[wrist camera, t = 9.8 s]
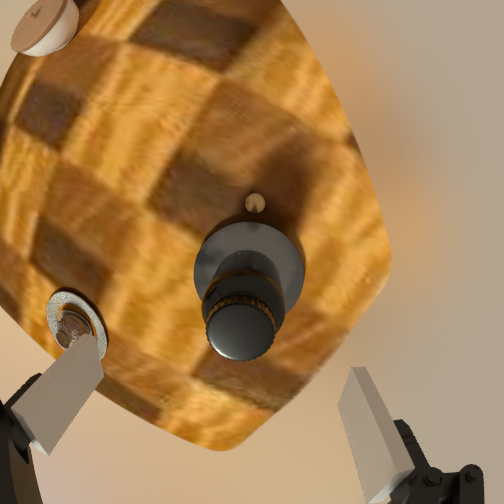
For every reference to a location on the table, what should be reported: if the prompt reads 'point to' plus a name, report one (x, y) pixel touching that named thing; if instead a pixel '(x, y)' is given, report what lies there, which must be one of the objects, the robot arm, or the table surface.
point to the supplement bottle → (243, 306)
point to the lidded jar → (46, 27)
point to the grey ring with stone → (73, 322)
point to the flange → (256, 239)
